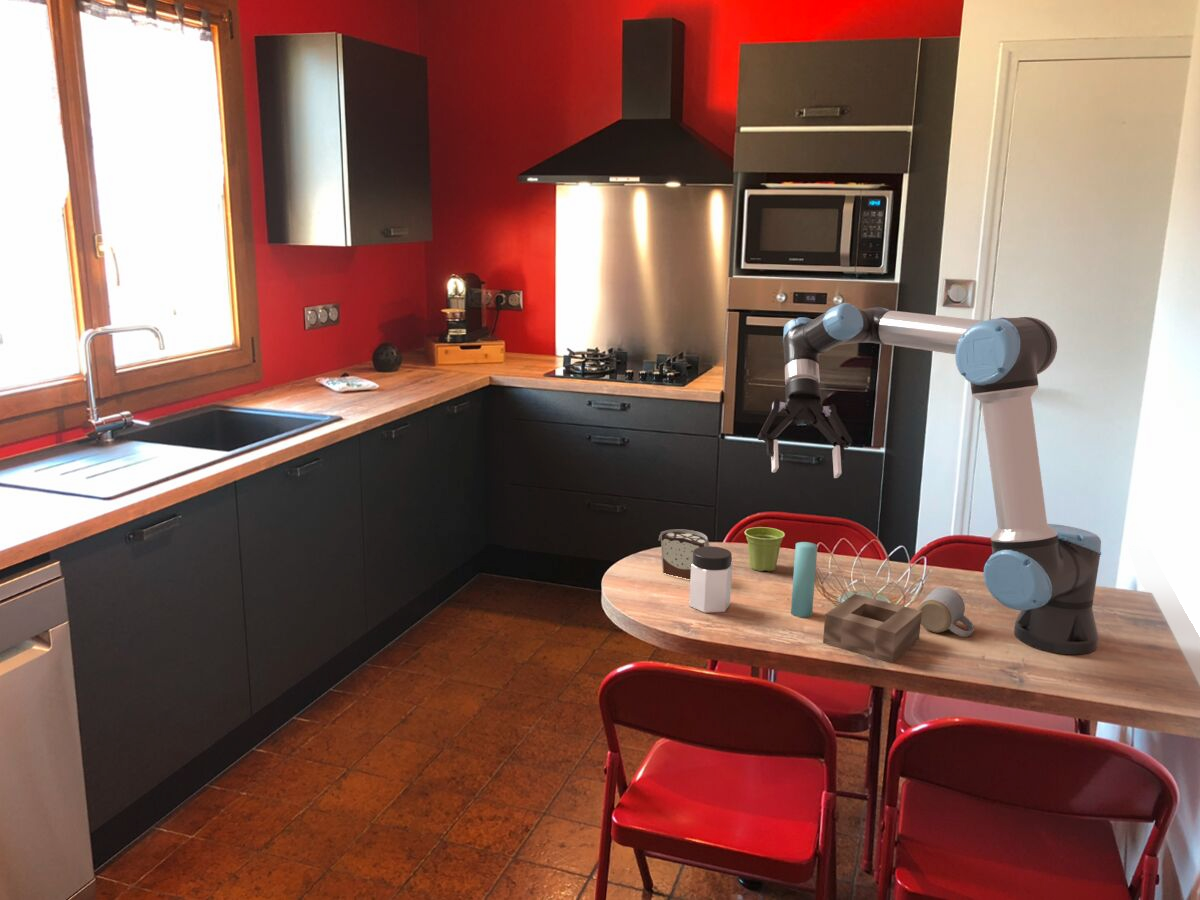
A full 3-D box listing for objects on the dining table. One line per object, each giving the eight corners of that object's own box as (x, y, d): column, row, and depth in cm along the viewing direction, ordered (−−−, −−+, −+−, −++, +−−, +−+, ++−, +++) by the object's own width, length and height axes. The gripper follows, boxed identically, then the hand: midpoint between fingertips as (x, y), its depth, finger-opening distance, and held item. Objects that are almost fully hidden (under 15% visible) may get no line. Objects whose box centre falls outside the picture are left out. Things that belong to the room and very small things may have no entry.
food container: (716, 576, 228) (719, 535, 226) (705, 584, 223) (707, 541, 221) (669, 565, 234) (671, 525, 232) (657, 573, 229) (658, 531, 227)
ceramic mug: (913, 629, 201) (917, 593, 199) (926, 616, 207) (930, 582, 205) (966, 643, 195) (971, 607, 193) (978, 630, 201) (982, 595, 199)
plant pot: (734, 567, 234) (736, 532, 232) (755, 558, 241) (757, 524, 239) (769, 577, 228) (771, 541, 226) (789, 567, 235) (792, 532, 233)
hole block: (919, 639, 196) (921, 611, 194) (892, 662, 185) (895, 633, 183) (852, 621, 204) (854, 593, 202) (822, 642, 193) (825, 614, 192)
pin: (815, 613, 208) (821, 545, 204) (806, 619, 204) (811, 550, 201) (796, 607, 210) (801, 540, 207) (787, 613, 207) (791, 545, 204)
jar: (738, 607, 210) (741, 554, 207) (711, 616, 204) (714, 561, 202) (708, 595, 216) (710, 543, 214) (681, 603, 211) (683, 550, 209)
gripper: (851, 397, 222) (857, 484, 214) (742, 387, 220) (744, 474, 211) (863, 381, 216) (870, 471, 207) (751, 371, 213) (753, 460, 205)
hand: (806, 473), depth 209 cm, fingers open, 13 cm apart
